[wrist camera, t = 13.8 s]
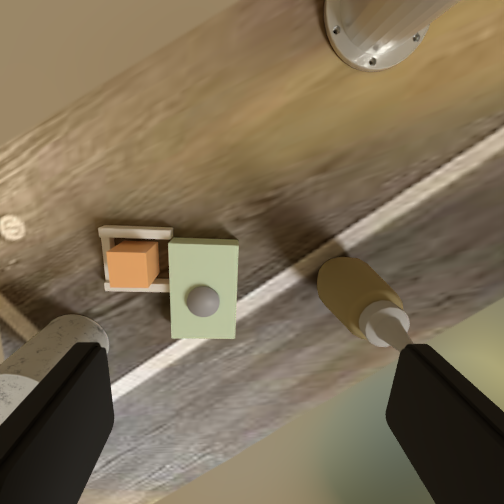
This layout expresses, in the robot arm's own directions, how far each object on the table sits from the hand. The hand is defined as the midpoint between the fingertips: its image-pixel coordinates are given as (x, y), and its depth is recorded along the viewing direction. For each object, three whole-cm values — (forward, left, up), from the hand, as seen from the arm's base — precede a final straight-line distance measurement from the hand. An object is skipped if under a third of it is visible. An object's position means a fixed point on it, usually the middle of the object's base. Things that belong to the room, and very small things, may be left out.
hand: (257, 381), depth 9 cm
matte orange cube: (+6, -13, -30) cm, 34 cm away
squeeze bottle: (+8, +15, -31) cm, 35 cm away
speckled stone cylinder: (+20, -24, -31) cm, 44 cm away
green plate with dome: (+9, -9, -30) cm, 33 cm away
